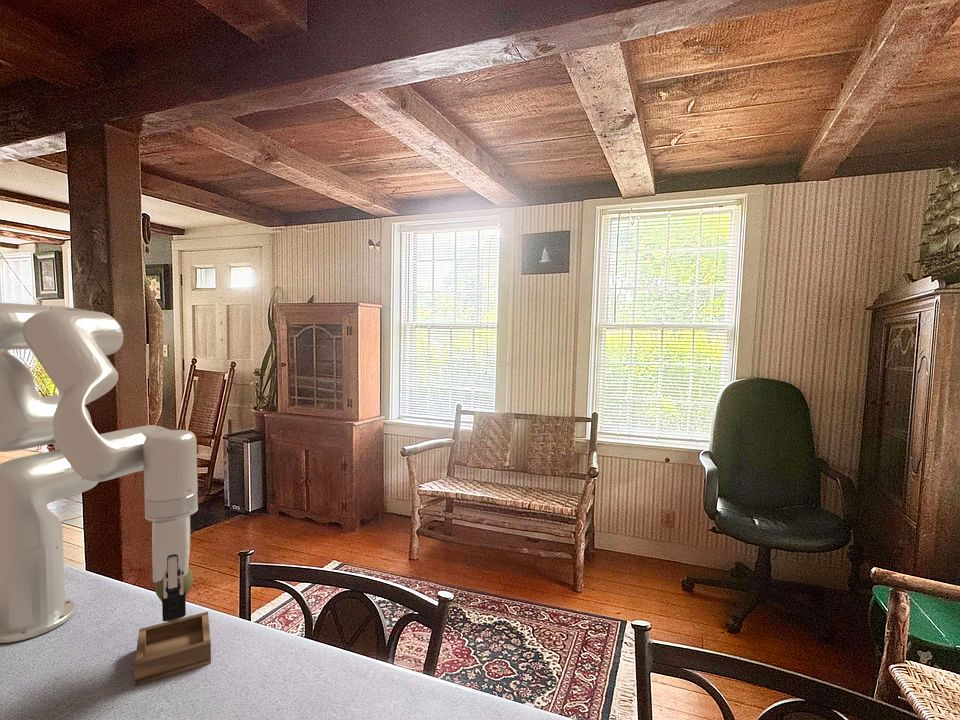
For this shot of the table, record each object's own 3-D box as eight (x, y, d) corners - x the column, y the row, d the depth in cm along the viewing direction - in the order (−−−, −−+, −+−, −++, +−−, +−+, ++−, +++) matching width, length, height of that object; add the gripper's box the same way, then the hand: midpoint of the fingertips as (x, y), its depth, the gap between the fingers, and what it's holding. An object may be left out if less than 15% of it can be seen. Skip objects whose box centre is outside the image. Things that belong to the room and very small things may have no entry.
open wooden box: (139, 648, 84) (139, 628, 83) (208, 629, 89) (207, 611, 89) (134, 686, 75) (134, 664, 75) (210, 663, 80) (210, 642, 80)
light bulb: (175, 634, 78) (174, 574, 78) (146, 629, 79) (145, 570, 79) (201, 614, 84) (200, 559, 83) (174, 610, 85) (173, 555, 84)
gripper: (148, 493, 86) (150, 591, 87) (140, 526, 71) (144, 644, 72) (196, 487, 90) (198, 581, 91) (199, 517, 75) (201, 628, 76)
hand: (174, 608), depth 81 cm, fingers closed on light bulb, 5 cm apart
